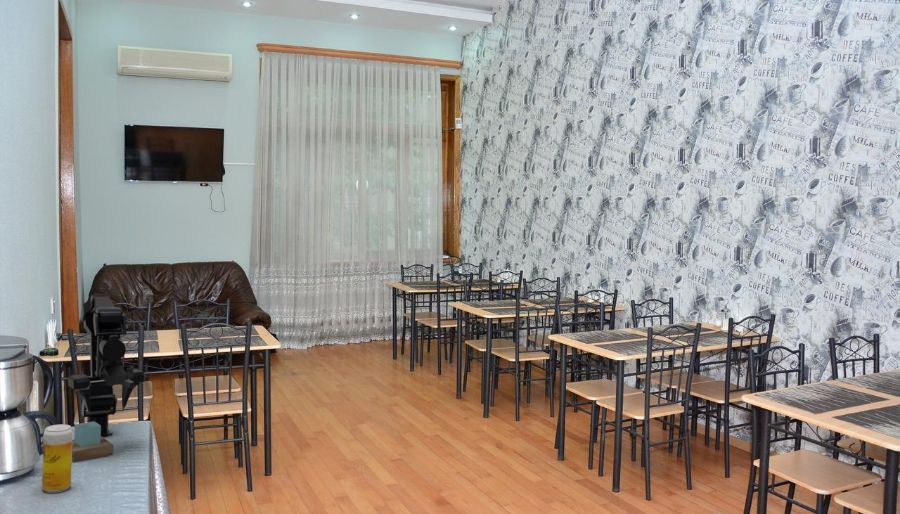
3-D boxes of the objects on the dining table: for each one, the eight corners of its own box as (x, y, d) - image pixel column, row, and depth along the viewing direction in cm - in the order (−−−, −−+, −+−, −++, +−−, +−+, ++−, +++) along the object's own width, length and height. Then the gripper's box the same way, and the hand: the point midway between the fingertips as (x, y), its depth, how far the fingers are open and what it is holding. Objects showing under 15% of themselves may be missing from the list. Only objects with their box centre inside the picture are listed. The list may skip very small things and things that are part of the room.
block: (74, 442, 195) (74, 424, 195) (93, 438, 199) (94, 421, 198) (80, 447, 192) (81, 428, 191) (100, 443, 195) (100, 425, 195)
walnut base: (61, 452, 195) (61, 441, 195) (99, 445, 202) (99, 435, 202) (73, 462, 188) (74, 451, 188) (112, 455, 195) (113, 444, 195)
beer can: (38, 488, 170) (39, 426, 170) (65, 482, 175) (67, 422, 174) (47, 495, 166) (48, 433, 166) (74, 489, 171) (76, 428, 170)
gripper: (80, 362, 184) (79, 421, 185) (153, 355, 197) (151, 411, 198) (68, 354, 192) (66, 411, 193) (138, 348, 205) (137, 402, 206)
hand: (106, 409), depth 197 cm, fingers open, 9 cm apart
